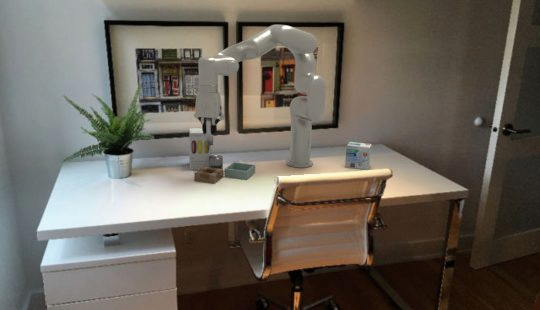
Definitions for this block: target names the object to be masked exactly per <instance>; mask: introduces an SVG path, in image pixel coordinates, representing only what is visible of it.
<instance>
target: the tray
mask: <svg viewBox="0 0 540 310" xmlns="http://www.w3.org/2000/svg"><path fill="white" fill-rule="evenodd" d="M255 173H256V164H251V163H245V162H244V163H243V162H238V161H237V162H236V161H233V162H232V163H230V164H229V165H227V166H226V167H225V168H224V177H225V178H230V179H238V180H244V181H248V180H249V179H250V178H251V177H252V176H253V175H255Z"/></svg>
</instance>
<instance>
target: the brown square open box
mask: <svg viewBox="0 0 540 310" xmlns="http://www.w3.org/2000/svg"><path fill="white" fill-rule="evenodd" d="M223 178H224V168H223V169H218V168H211V167H203V168H201V169H197V171H195V172H194V181H195V182H199V183H205V184H206V183H207V184H214V185H215V184H217V182H219V181H220V180H221V179H223Z"/></svg>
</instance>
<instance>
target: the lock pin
mask: <svg viewBox="0 0 540 310" xmlns="http://www.w3.org/2000/svg"><path fill="white" fill-rule="evenodd" d="M211 125H212V118H206V145H208V146H211V147H212V146H214V135H212V134H211Z"/></svg>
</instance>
